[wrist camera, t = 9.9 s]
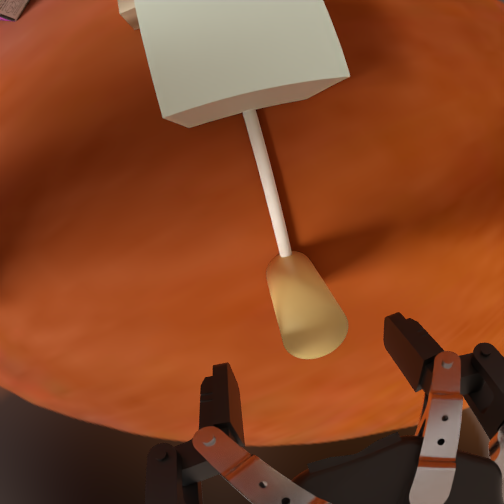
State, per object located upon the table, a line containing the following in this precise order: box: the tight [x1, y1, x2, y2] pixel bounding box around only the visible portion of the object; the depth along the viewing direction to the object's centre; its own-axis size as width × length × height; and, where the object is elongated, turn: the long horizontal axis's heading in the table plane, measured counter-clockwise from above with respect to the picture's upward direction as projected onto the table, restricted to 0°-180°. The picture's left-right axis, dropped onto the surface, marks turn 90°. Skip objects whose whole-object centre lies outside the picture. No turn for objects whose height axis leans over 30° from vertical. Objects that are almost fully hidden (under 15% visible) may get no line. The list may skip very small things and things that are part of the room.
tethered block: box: [134, 0, 350, 359], centre depth 13 cm, size 20×8×7 cm, turn 15°
